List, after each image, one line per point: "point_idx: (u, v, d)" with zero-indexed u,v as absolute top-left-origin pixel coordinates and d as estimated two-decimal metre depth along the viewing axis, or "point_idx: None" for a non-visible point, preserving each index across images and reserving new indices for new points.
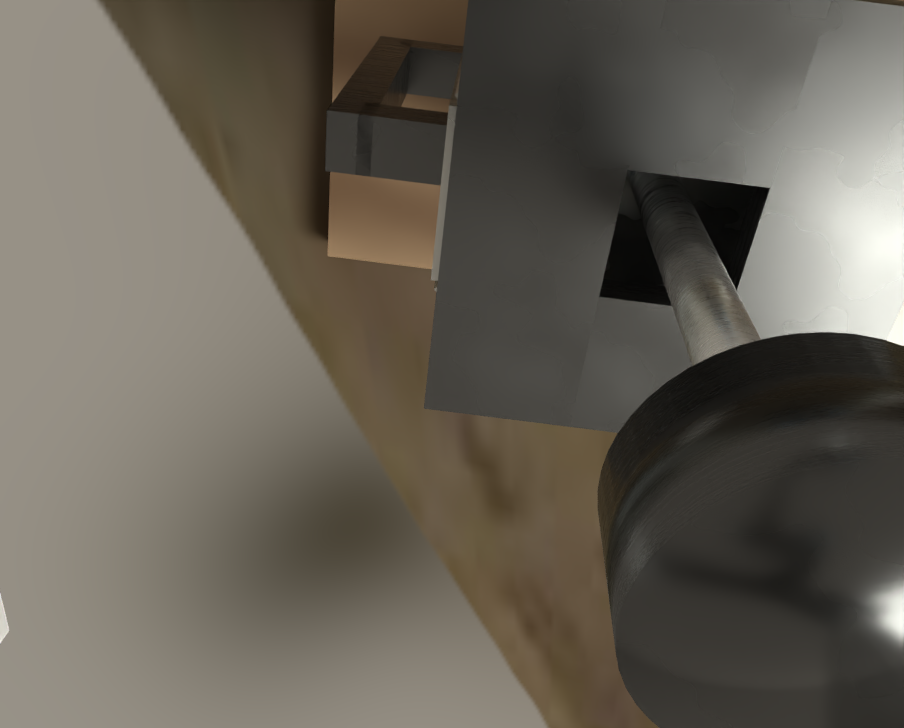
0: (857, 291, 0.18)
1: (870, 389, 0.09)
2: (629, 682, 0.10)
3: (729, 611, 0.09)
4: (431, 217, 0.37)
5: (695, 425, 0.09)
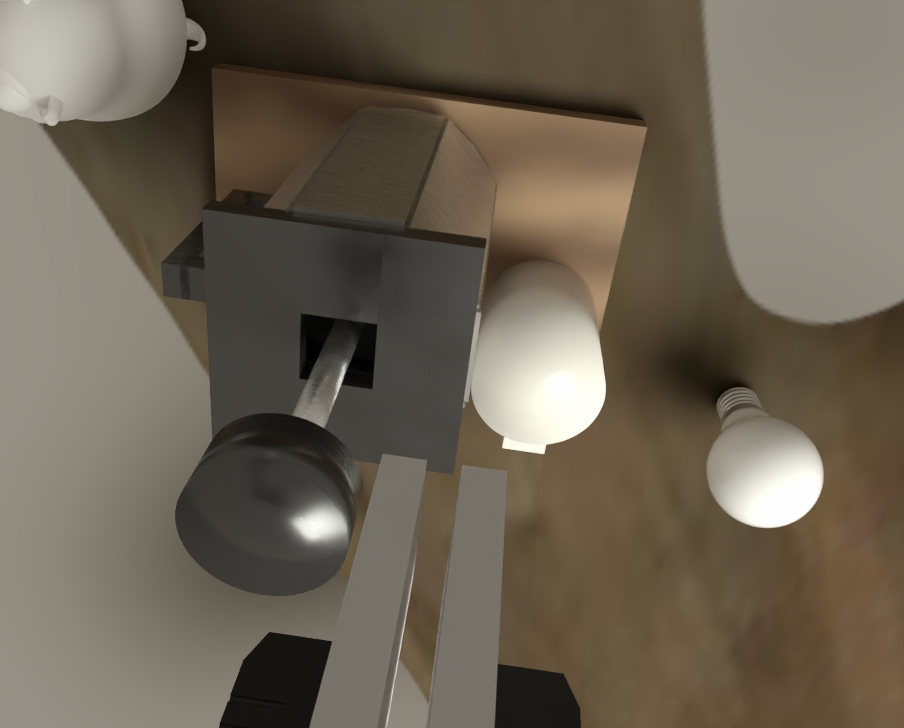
0: (439, 379, 0.33)
1: (264, 437, 0.23)
2: (189, 551, 0.24)
3: (214, 520, 0.23)
4: None
5: (210, 449, 0.24)
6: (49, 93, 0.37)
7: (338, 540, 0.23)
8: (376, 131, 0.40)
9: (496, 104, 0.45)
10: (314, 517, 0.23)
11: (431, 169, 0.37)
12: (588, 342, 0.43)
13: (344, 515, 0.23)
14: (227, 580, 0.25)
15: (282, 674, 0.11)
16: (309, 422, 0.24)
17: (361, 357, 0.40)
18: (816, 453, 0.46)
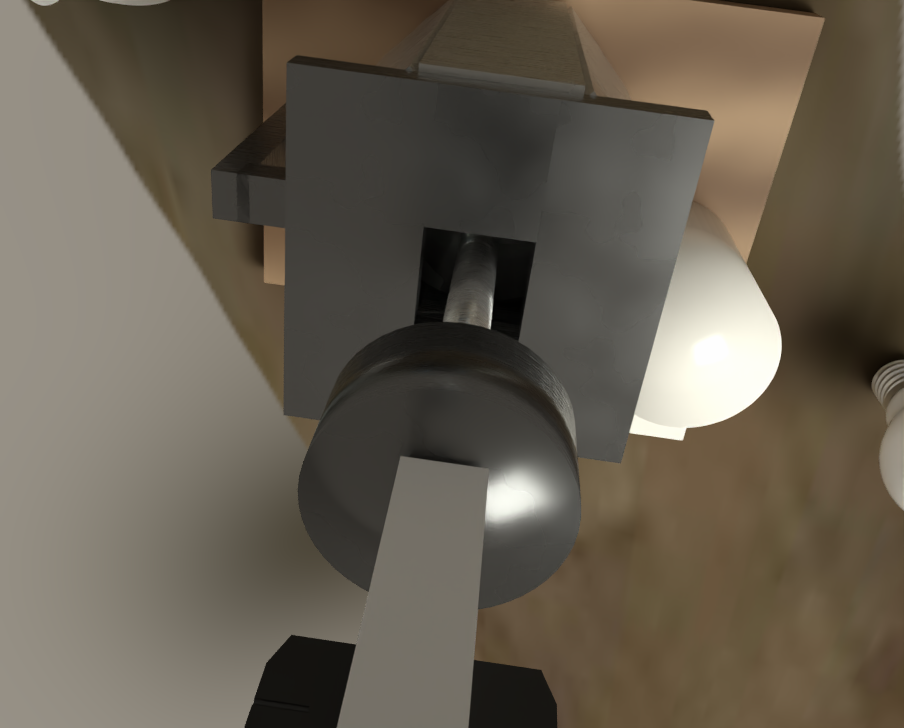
0: (618, 325, 0.23)
1: (445, 354, 0.14)
2: (315, 541, 0.15)
3: (361, 490, 0.14)
4: None
5: (352, 376, 0.15)
6: None
7: (564, 521, 0.14)
8: (489, 8, 0.30)
9: None
10: (531, 484, 0.14)
11: (581, 44, 0.27)
12: (760, 292, 0.33)
13: (578, 482, 0.14)
14: None
15: (305, 677, 0.11)
16: (505, 336, 0.15)
17: None
18: None
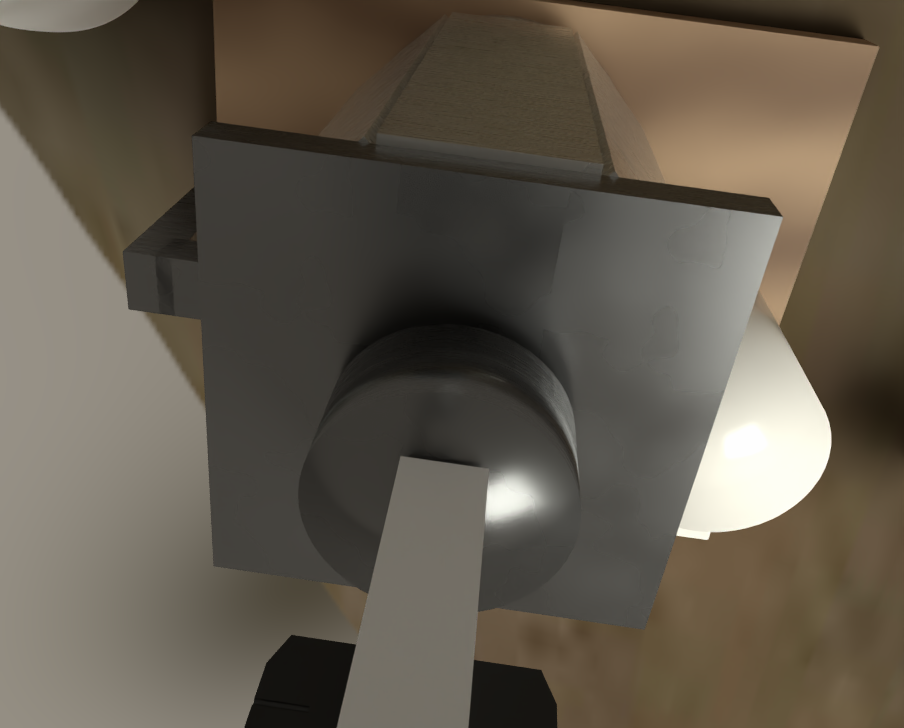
0: (644, 470, 0.17)
1: (445, 357, 0.14)
2: (315, 543, 0.15)
3: (361, 492, 0.14)
4: None
5: (352, 378, 0.15)
6: None
7: (564, 524, 0.14)
8: (478, 39, 0.25)
9: (644, 13, 0.30)
10: (531, 487, 0.14)
11: (593, 89, 0.21)
12: (805, 378, 0.27)
13: (578, 484, 0.14)
14: None
15: (305, 677, 0.11)
16: (505, 338, 0.15)
17: None
18: None
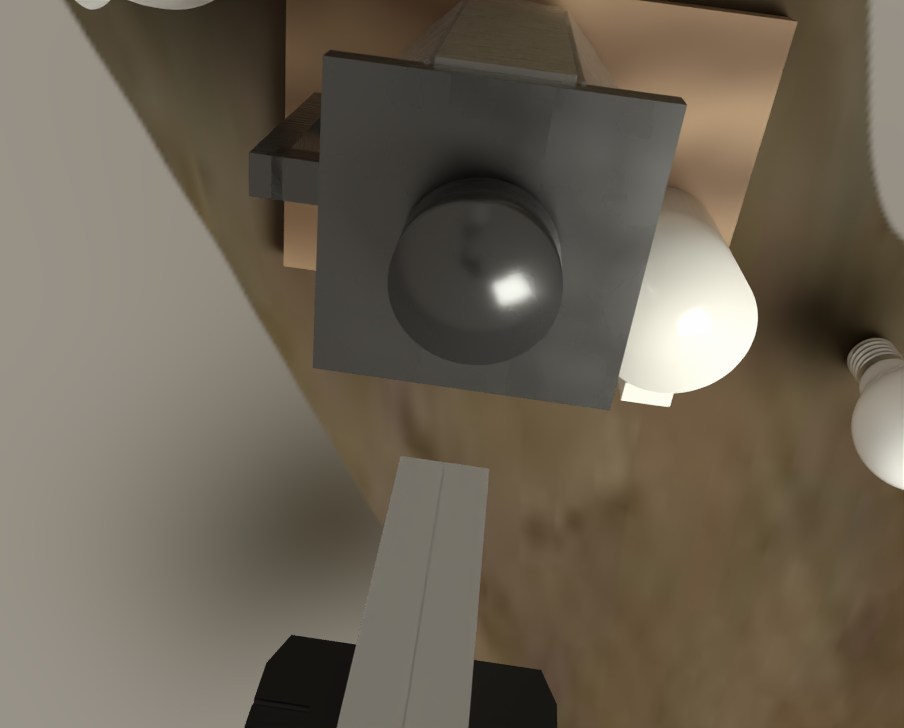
0: (606, 285, 0.26)
1: (479, 190, 0.23)
2: (396, 314, 0.24)
3: (427, 275, 0.23)
4: None
5: (420, 208, 0.24)
6: None
7: (553, 295, 0.23)
8: (493, 12, 0.34)
9: None
10: (532, 268, 0.23)
11: (575, 42, 0.30)
12: (737, 268, 0.36)
13: (561, 268, 0.23)
14: (430, 348, 0.25)
15: (305, 677, 0.11)
16: (515, 186, 0.24)
17: None
18: None
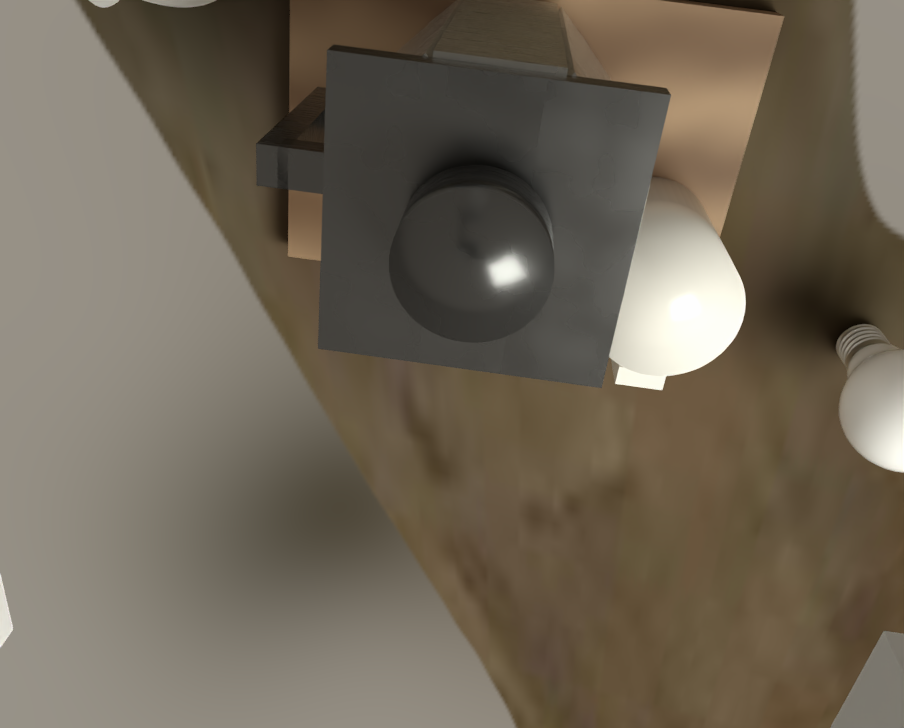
0: (596, 267, 0.28)
1: (475, 176, 0.25)
2: (397, 294, 0.25)
3: (426, 257, 0.25)
4: None
5: (419, 194, 0.25)
6: None
7: (545, 274, 0.25)
8: (489, 8, 0.35)
9: None
10: (525, 249, 0.24)
11: (568, 37, 0.31)
12: (726, 254, 0.37)
13: (552, 249, 0.24)
14: (430, 326, 0.26)
15: None
16: (509, 173, 0.26)
17: None
18: None
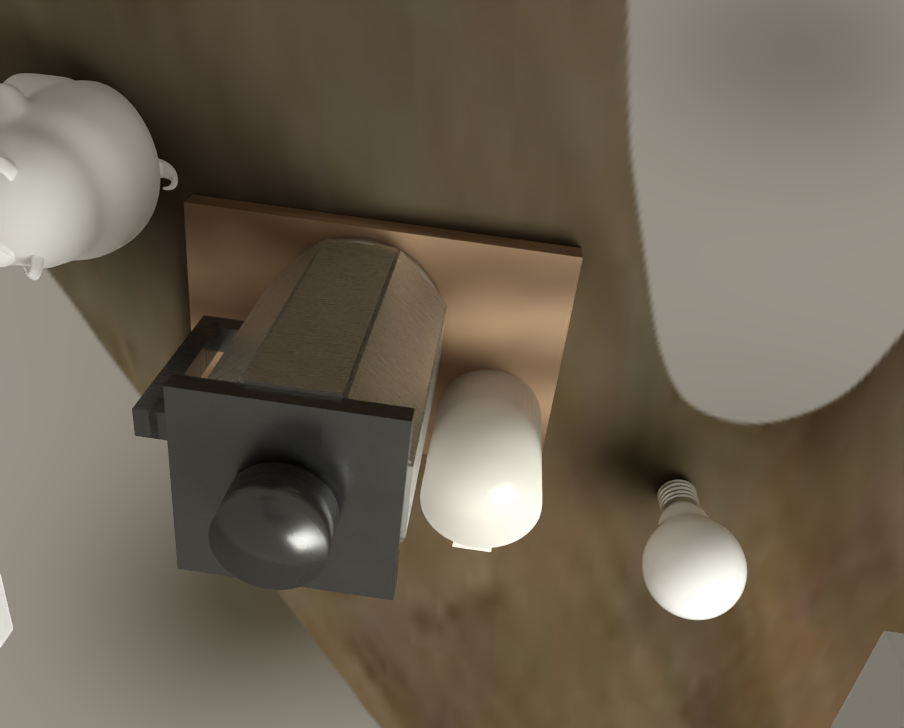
0: (376, 523, 0.37)
1: (269, 480, 0.34)
2: (217, 558, 0.35)
3: (235, 537, 0.34)
4: None
5: (232, 488, 0.34)
6: (32, 252, 0.41)
7: (320, 550, 0.34)
8: (329, 274, 0.44)
9: (445, 235, 0.49)
10: (304, 535, 0.34)
11: (375, 322, 0.41)
12: (526, 459, 0.47)
13: (324, 534, 0.34)
14: (243, 578, 0.35)
15: None
16: (300, 468, 0.35)
17: None
18: (739, 553, 0.50)
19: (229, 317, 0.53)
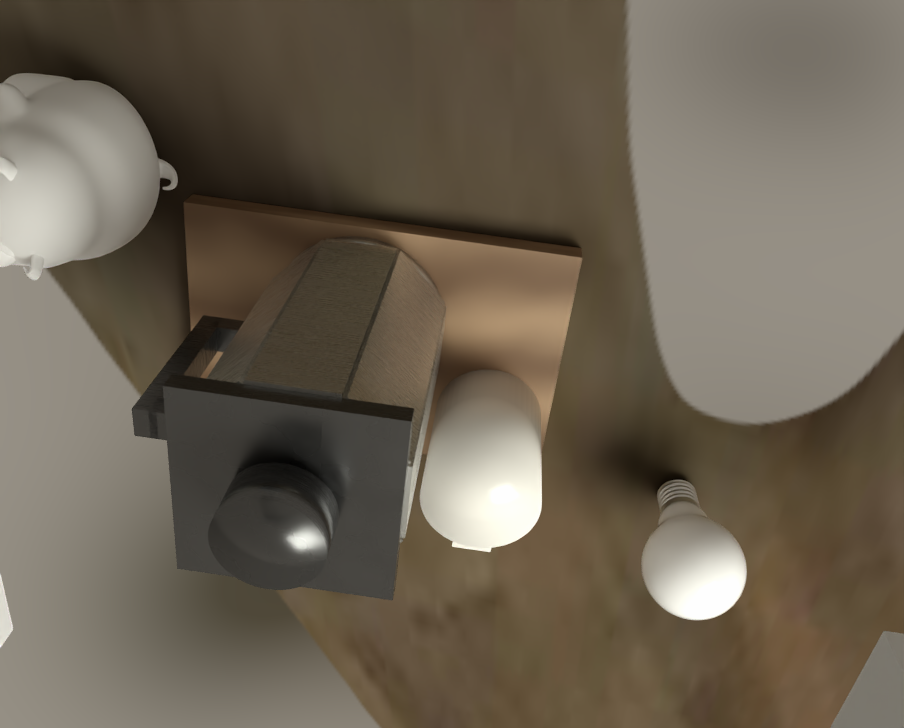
0: (376, 523, 0.37)
1: (269, 480, 0.34)
2: (217, 558, 0.35)
3: (234, 537, 0.34)
4: None
5: (232, 488, 0.35)
6: (32, 252, 0.41)
7: (320, 550, 0.34)
8: (329, 274, 0.44)
9: (444, 235, 0.49)
10: (303, 535, 0.34)
11: (375, 322, 0.41)
12: (526, 459, 0.47)
13: (324, 534, 0.34)
14: (243, 579, 0.35)
15: None
16: (300, 469, 0.35)
17: None
18: (739, 553, 0.50)
19: (229, 317, 0.53)
